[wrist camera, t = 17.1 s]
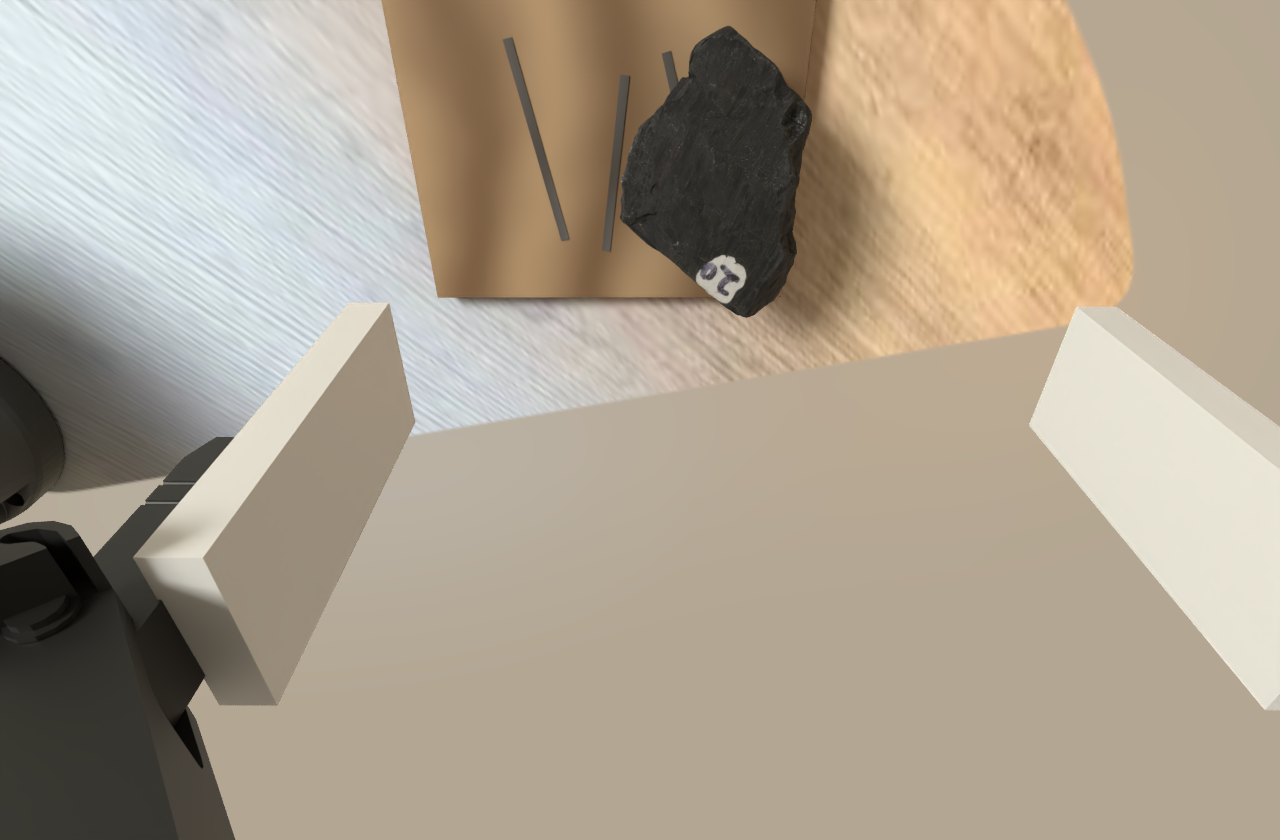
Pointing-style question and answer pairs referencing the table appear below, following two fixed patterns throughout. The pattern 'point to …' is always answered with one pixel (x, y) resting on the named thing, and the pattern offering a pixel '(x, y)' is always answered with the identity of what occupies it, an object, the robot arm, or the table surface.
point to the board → (554, 130)
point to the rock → (721, 173)
